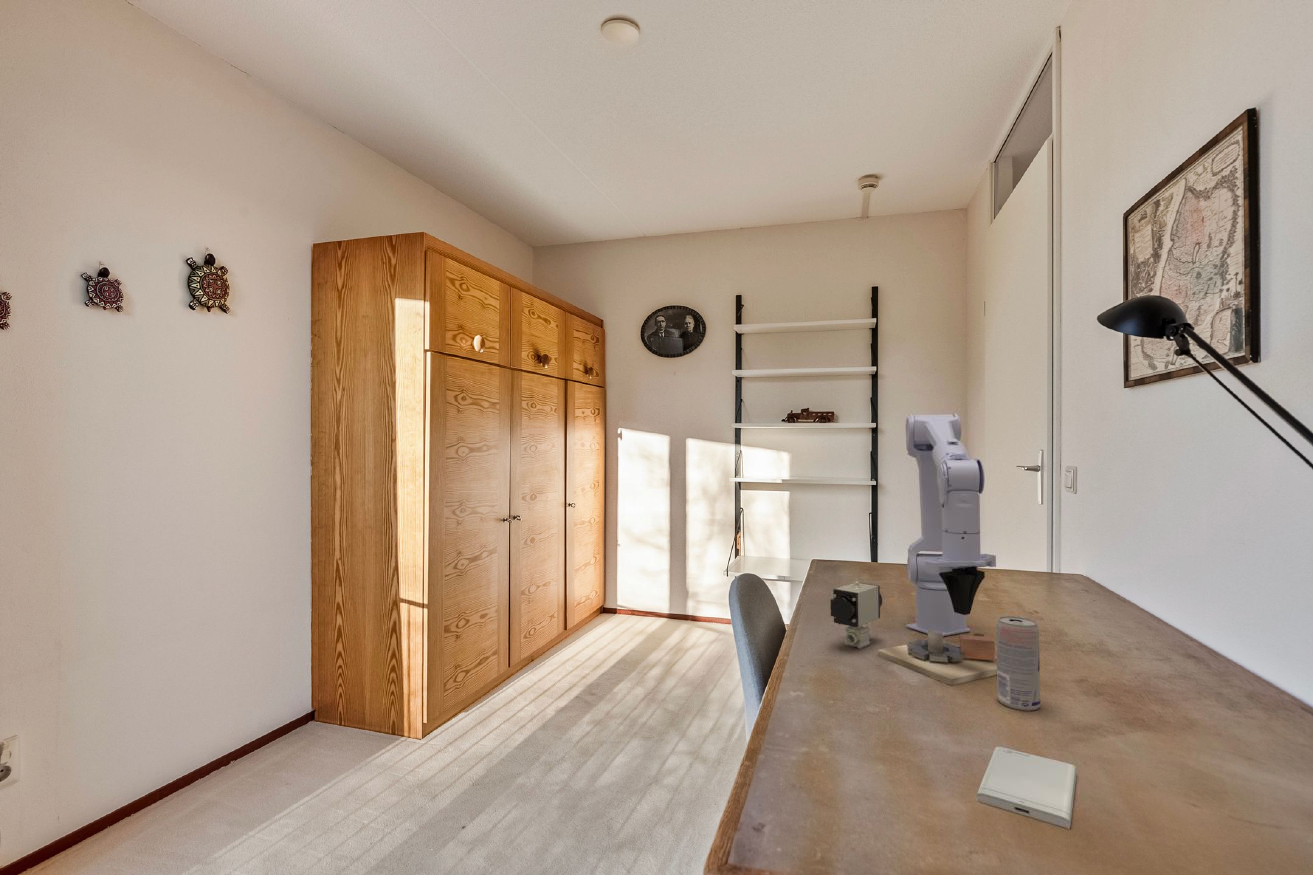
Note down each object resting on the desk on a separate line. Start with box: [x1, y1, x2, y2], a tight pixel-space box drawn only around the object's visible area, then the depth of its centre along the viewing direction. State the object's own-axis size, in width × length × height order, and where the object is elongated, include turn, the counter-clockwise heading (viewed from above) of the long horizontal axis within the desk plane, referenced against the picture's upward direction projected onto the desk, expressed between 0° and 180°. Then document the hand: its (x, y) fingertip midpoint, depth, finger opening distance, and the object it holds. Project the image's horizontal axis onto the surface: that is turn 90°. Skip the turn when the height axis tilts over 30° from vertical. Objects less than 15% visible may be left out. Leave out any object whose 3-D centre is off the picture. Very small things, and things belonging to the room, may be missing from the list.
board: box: [876, 630, 997, 686], centre depth 107 cm, size 15×16×5 cm
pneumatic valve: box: [829, 580, 883, 650], centre depth 117 cm, size 6×12×12 cm, turn 133°
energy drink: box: [995, 615, 1041, 712], centre depth 90 cm, size 5×5×12 cm
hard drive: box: [976, 746, 1077, 830], centre depth 68 cm, size 2×8×12 cm
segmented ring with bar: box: [906, 634, 996, 662], centre depth 107 cm, size 14×9×3 cm, turn 72°
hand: (962, 613), depth 103 cm, fingers closed
